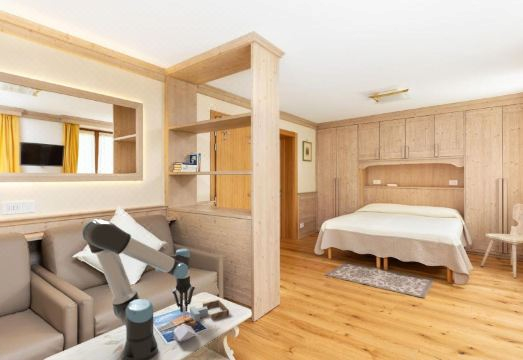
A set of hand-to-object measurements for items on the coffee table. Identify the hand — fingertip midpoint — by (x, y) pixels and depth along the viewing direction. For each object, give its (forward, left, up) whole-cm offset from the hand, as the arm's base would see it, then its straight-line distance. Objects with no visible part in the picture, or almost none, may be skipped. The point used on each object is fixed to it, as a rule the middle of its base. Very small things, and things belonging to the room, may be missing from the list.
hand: (183, 317), depth 164 cm
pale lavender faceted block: (-5, -18, -2) cm, 19 cm away
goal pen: (+19, 0, -2) cm, 19 cm away
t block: (+9, 0, -2) cm, 10 cm away
